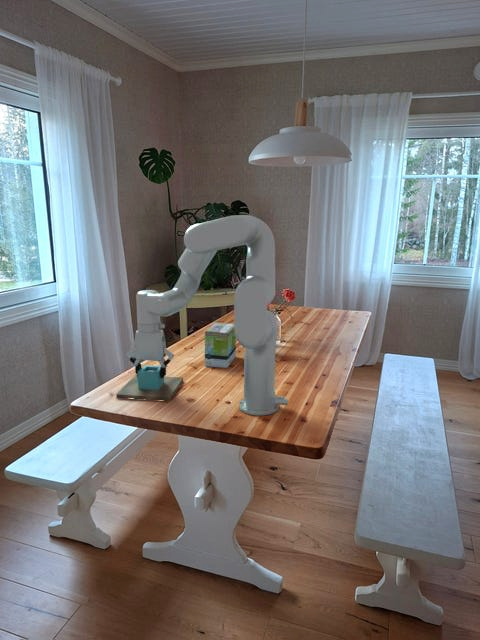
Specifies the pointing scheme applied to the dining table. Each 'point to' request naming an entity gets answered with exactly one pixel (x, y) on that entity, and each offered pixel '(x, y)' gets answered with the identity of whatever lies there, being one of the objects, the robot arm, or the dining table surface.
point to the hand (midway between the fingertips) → (150, 376)
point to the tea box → (220, 345)
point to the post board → (162, 394)
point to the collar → (149, 378)
